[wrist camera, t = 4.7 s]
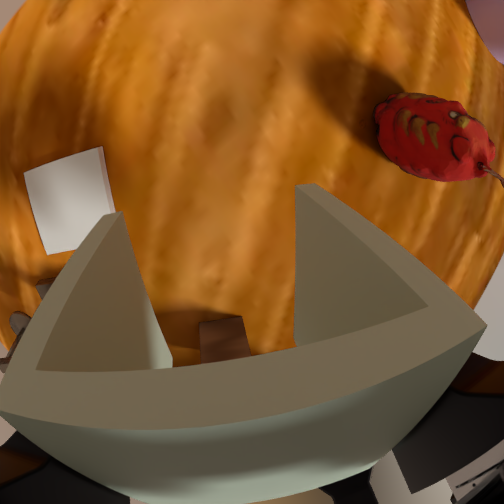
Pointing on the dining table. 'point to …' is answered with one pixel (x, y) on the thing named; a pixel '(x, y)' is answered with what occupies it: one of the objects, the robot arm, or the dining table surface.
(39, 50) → the dining table surface
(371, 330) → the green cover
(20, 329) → the bronze balance
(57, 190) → the grey ceramic tile
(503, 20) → the clip
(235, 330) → the walnut block
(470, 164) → the red clay folk toy
